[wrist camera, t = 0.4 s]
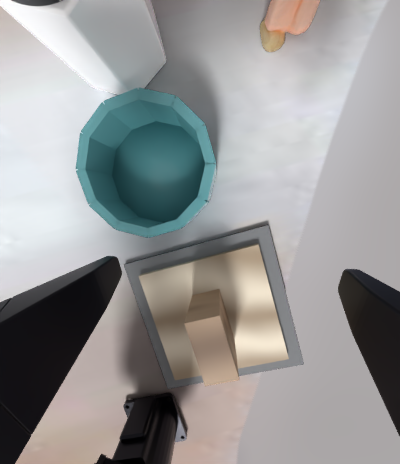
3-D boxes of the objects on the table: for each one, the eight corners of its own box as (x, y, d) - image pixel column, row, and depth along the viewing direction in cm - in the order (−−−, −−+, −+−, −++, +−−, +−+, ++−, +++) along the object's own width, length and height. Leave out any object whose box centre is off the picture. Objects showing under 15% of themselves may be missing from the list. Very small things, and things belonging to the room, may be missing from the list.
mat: (302, 361, 23) (303, 364, 22) (168, 385, 25) (168, 388, 24) (267, 224, 21) (268, 225, 20) (125, 263, 23) (123, 265, 22)
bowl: (227, 210, 21) (230, 214, 16) (130, 239, 22) (105, 250, 17) (196, 100, 19) (189, 66, 14) (95, 138, 21) (57, 119, 16)
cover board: (287, 354, 22) (309, 405, 17) (176, 375, 24) (163, 428, 18) (257, 243, 21) (271, 259, 15) (140, 274, 22) (115, 298, 17)
